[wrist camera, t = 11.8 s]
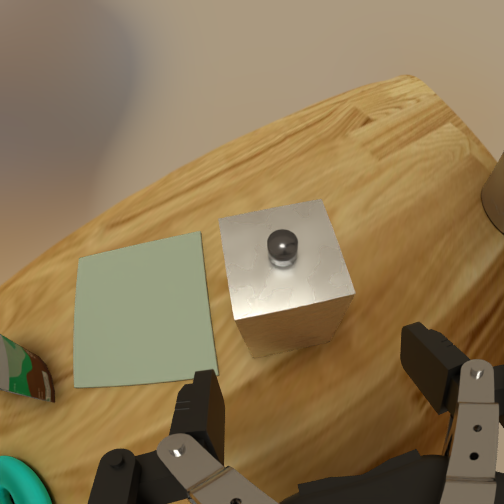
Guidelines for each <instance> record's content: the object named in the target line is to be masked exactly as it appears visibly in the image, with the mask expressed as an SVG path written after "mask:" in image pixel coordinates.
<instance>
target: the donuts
mask: <svg viewBox="0 0 504 504" xmlns="http://www.w3.org/2000/svg"><path fill="white" fill-rule="evenodd" d="M9 493H10V494H11V496H12V498H13V500H14V503H15V504H52V502H51V499H50V497H49V494H48V492H47V490H46V488H45V486H44V485H43V483H42V482H41V480H40V479H39V477H38V476H37V475H36V474H35V472H34V471H33V470H32V469H31V468H30V467H28V466H27V465H26V464H25V463H23V462H22V461H20V460H18V459H16V458H14V457H10V456H0V504H13V503H12V501H11V498H10V495H9Z"/></svg>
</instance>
